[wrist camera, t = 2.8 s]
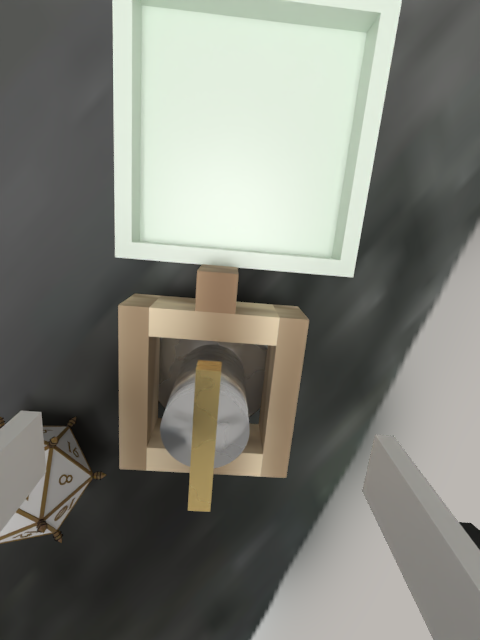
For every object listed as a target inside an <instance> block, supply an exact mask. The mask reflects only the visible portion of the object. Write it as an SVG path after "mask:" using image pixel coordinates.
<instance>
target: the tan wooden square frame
mask: <svg viewBox="0 0 480 640" xmlns="http://www.w3.org/2000/svg"><path fill="white" fill-rule="evenodd" d="M238 276H239V274H238V268H237V267H229V266H218V265H206V264H202V265H201V266H200V268H199V269H198V270H197V282H196V298H185V297H172V296H159V295H147V294H133V295H132V296H131V297H129V298H128V299H126V300H125V301H123V302H122V303H121V304H119V305H118V340H119V469H127V470H146V471H165V472H184V473H190V467H189V466H186V465H184V464H182V463H180V462H179V461H177V460H176V459H175V458H173V457H172V456H171V455H170V454H169V453H168V451H167V450H166V448H165V446H164V445H163V442H162V439H161V434H160V426H161V421H162V418H158V394H159V356H160V337H163V338H177V339H190V340H204V341H218V342H231V343H245V344H259V345H268V348H267V357H266V365H265V374H264V383H263V391H262V400H261V409H260V417H259V424H249V427H250V434H249V439H248V442H247V445H246V447H245V449H244V450H243V451H242V453H241V454H240V455H239V456H238V457H237V458H236V459H235V460H233V461H232V462H230V463H228V464H226V465H224V466H221V467H218V468H214V470H213V474H222V475H241V476H259V477H278V478H286V475H287V468H288V462H289V455H290V448H291V441H292V434H293V428H294V421H295V414H296V407H297V400H298V393H299V387H300V380H301V373H302V366H303V359H304V352H305V346H306V339H307V332H308V325H309V319H308V318H307V317H306V316H305V314H304V313H303V312H302V311H301V310H300V309H299V307H298V306H285V305H273V304H260V303H248V302H236V299H237V287H238Z"/></svg>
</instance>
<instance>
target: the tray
mask: <svg viewBox="0 0 480 640" xmlns="http://www.w3.org/2000/svg"><path fill="white" fill-rule="evenodd" d="M401 2H402V0H113V94H114V196H115V257H118V258H130V259H141V260H153V261H165V262H177V263H189V264H201V265H202V264H206V265H218V266H229V267H237V268H248V269H260V270H272V271H283V272H295V273H307V274H319V275H331V276H343V277H353V275H354V270H355V264H356V258H357V253H358V247H359V241H360V236H361V230H362V224H363V219H364V213H365V207H366V201H367V196H368V190H369V184H370V179H371V173H372V167H373V162H374V156H375V150H376V145H377V139H378V133H379V128H380V122H381V116H382V110H383V105H384V99H385V93H386V88H387V82H388V76H389V71H390V65H391V59H392V54H393V48H394V42H395V37H396V31H397V25H398V19H399V14H400V8H401Z"/></svg>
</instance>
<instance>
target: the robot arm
mask: <svg viewBox="0 0 480 640" xmlns="http://www.w3.org/2000/svg"><path fill="white" fill-rule="evenodd" d="M45 473H46V462H45V450H44V438H43V425H42V413H41V412H34V411H20V412H19V413H18V414H17V415H16V416H14V417H13V418H12V419H11V420H10V421H9V422H8V423H6V424H5V425H4V426H3V427H2V428H1V429H0V532H1V531H2V529H3V528H4V527H5V526H6V524H7V523H8V522H9V520H10V519H11V518H12V516H13V515H14V514H15V512H16V511H17V510H18V508H19V507H20V506H21V504H22V503H23V502H24V501H25V499H26V498H27V497H28V495H29V494H30V493H31V491H32V490H33V489H34V487H35V486H36V485H37V483H38V482H39V481H40V479H41V478H42V477H43V476H44V474H45ZM362 492H363V493H364V496H365V498H366V500H367V502H368V504H369V506H370V508H371V510H372V512H373V515H374V516H375V519H376V521H377V523H378V525H379V527H380V529H381V531H382V533H383V535H384V538H385V540H386V542H387V544H388V546H389V548H390V550H391V552H392V554H393V556H394V558H395V560H396V563H397V565H398V567H399V569H400V571H401V573H402V575H403V577H404V579H405V581H406V583H407V586H408V588H409V590H410V592H411V594H412V596H413V598H414V600H415V602H416V604H417V606H418V608H419V611H420V613H421V615H422V617H423V619H424V621H425V623H426V625H427V627H428V629H429V631H430V634H431V636H432V638H433V640H480V530H478V529H477V528H476V527H475V526H474V525H472V524H471V523H462V522H458V521H457V519H456V518H455V517H454V516H453V514H452V513H451V511H450V510H449V509H448V508H447V506H446V505H445V504H444V502H443V501H442V499H441V498H440V497H439V495H438V494H437V493H436V492H435V490H434V489H433V487H432V486H431V485H430V484H429V482H428V481H427V479H426V478H425V477H424V476H423V474H422V473H421V472H420V470H419V469H418V468H417V466H416V465H415V464H414V462H413V461H412V460H411V458H410V457H409V456H408V454H407V453H406V452H405V450H404V449H403V448H402V446H401V445H400V444H399V442H398V441H397V440H396V438H395V437H394V436H389V435H375V437H374V441H373V446H372V450H371V454H370V459H369V463H368V468H367V473H366V477H365V481H364V486H363V490H362Z"/></svg>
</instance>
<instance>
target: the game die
mask: <svg viewBox="0 0 480 640" xmlns="http://www.w3.org/2000/svg"><path fill="white" fill-rule="evenodd" d="M3 419H4V418H1V417H0V429H1V428H2V427H3V426H4V425H5V424H4V422H5V421H4V420H3ZM69 420H70V421H69V422H68V424H67V426H43V438H44V450H45V462H46V473H45V474H44V476H43V477H42V478H41V479H40V481H39V482H38V483H37V485H36V486H35V487H34V489H33V490H32V491H31V493H30V494H29V495H28V497H27V498H26V499H25V501H24V502H23V503H22V504H21V506H20V507H19V508H18V510H17V511H16V512H15V514H14V515H13V516H12V518H11V519H10V520H9V522H8V523H7V524H6V526H5V527H4V528H3V529H2V531H1V532H0V544H3V543H8V542H13V541H18V540H23V539H28V538H33V537H38V536H43V535H48V534H54V536H53V538H55V541H58V542H61V543H62V536H63V534H61V532H60V531H59V530H58V529H59V528H60V526H61V525H62V523H63V522H64V520H65V519H66V517H67V516H68V514H69V513H70V511H71V510H72V508H73V507H74V505H75V504H76V502H77V501H78V499H79V498H80V497H81V495H82V494H83V492H84V491H85V489H86V488H87V486H88V485H89V483H90V482H91V480H92V479H93V478H94V479H96V480H97V479H100V480H101V478H103V477H105V476H106V474H104V473H103V472H102V471H101V472H96V473H93V472H92V470H91V468H90V466H89V464H88V462H87V460H86V458H85V456H84V454H83V452H82V450H81V448H80V446H79V444H78V442H77V440H76V438H75V436H74V434H73V432H72V430H71V427H72V426H74V424H75V423H76V417H74V418H72V419H69Z"/></svg>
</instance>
